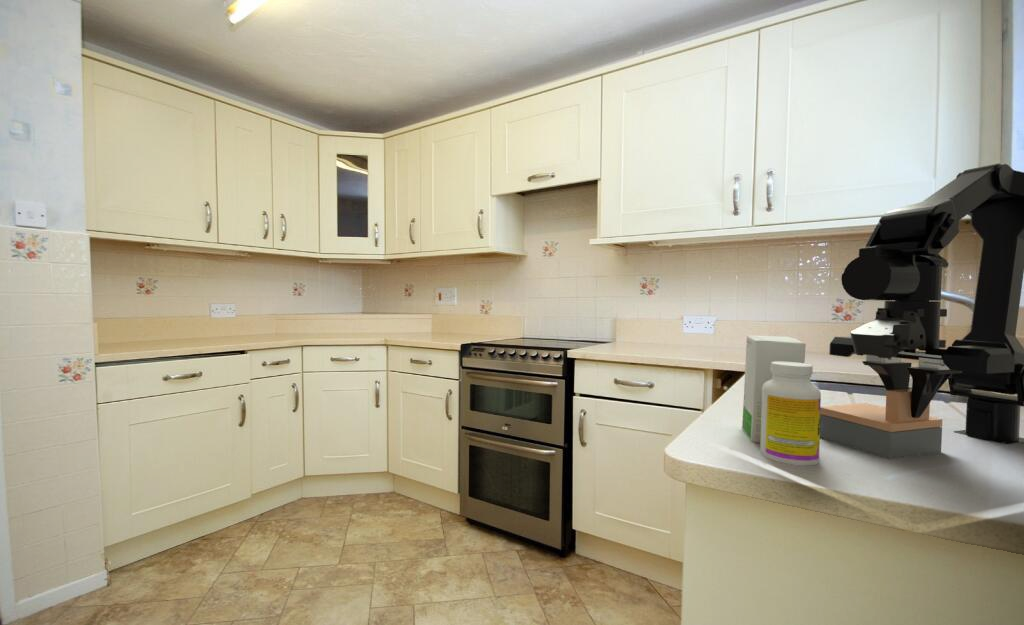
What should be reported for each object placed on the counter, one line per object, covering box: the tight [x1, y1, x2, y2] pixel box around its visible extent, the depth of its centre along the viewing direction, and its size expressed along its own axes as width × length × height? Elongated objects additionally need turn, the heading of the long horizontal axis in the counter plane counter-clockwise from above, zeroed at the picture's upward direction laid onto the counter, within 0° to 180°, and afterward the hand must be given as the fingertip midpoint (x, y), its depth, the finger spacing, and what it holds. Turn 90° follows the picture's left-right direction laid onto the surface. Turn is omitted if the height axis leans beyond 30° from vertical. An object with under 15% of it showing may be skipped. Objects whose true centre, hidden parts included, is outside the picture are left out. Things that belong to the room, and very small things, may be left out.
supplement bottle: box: [759, 361, 822, 466], centre depth 60 cm, size 7×7×13 cm
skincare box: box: [741, 334, 807, 443], centre depth 69 cm, size 8×7×16 cm
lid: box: [820, 388, 943, 432], centre depth 65 cm, size 10×10×5 cm
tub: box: [820, 414, 943, 460], centre depth 66 cm, size 10×10×4 cm
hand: (907, 415), depth 62 cm, fingers closed on lid, 2 cm apart
